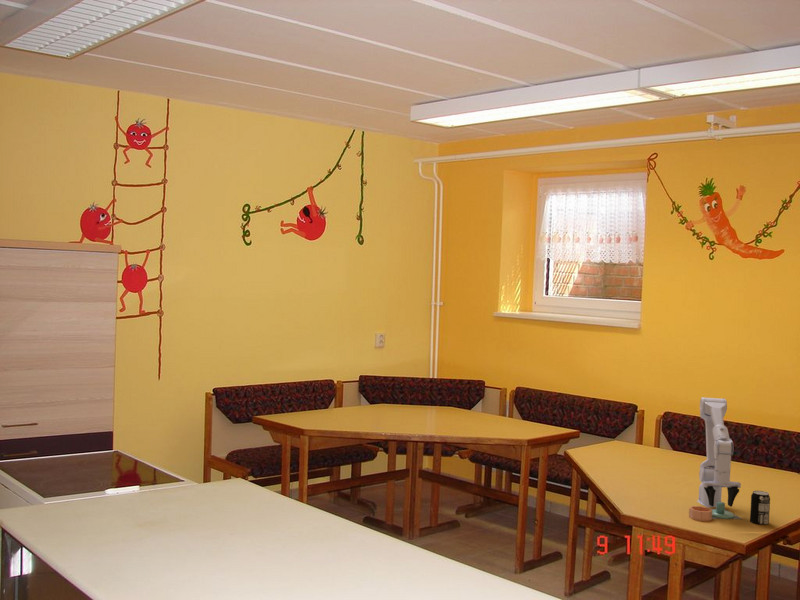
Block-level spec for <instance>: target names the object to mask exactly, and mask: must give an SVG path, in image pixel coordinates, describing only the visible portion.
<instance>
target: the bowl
mask: <svg viewBox="0 0 800 600" xmlns="http://www.w3.org/2000/svg"><path fill="white" fill-rule="evenodd" d="M711 509H712V508H711V507H706V506H703V505H691V506H690V507H689V508H688V517H689V518H690V519H692V520H695V521H700V522H710V521H712V520H713V519H712V511H713V510H711Z"/></svg>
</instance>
